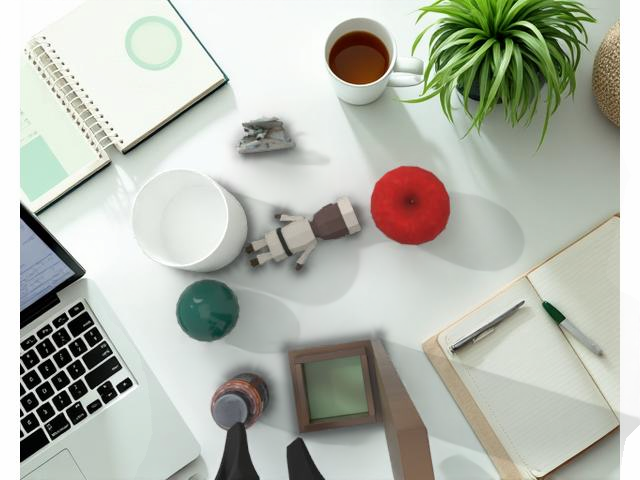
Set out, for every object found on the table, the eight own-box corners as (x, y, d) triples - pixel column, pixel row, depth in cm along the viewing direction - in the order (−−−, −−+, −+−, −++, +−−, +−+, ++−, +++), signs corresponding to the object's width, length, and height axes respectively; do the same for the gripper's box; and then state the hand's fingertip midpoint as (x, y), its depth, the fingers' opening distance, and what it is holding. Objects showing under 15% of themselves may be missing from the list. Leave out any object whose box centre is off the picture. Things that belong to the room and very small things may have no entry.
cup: (180, 174, 84) (151, 154, 72) (259, 202, 83) (243, 185, 71) (150, 255, 84) (115, 248, 72) (230, 284, 83) (208, 281, 71)
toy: (263, 285, 83) (367, 243, 82) (256, 285, 78) (365, 240, 77) (241, 229, 84) (343, 187, 83) (233, 226, 79) (341, 181, 78)
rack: (391, 420, 80) (472, 712, 23) (299, 432, 80) (162, 747, 24) (379, 337, 81) (426, 427, 24) (288, 350, 81) (131, 467, 25)
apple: (454, 234, 81) (468, 224, 71) (386, 261, 82) (390, 255, 71) (425, 165, 82) (435, 145, 72) (358, 192, 83) (358, 176, 72)
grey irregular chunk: (297, 150, 84) (292, 136, 77) (239, 157, 84) (229, 145, 77) (294, 119, 84) (288, 103, 77) (236, 127, 85) (225, 112, 78)
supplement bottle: (217, 383, 81) (195, 397, 70) (258, 364, 81) (242, 375, 70) (236, 426, 81) (216, 446, 69) (277, 407, 81) (264, 424, 69)
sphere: (188, 342, 82) (169, 347, 74) (183, 282, 83) (165, 281, 75) (247, 337, 82) (235, 341, 74) (242, 277, 83) (230, 274, 75)
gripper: (373, 562, 56) (342, 430, 66) (241, 544, 49) (228, 397, 58) (324, 593, 59) (302, 462, 69) (193, 581, 52) (189, 435, 61)
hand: (265, 434), depth 64 cm, fingers open, 7 cm apart
